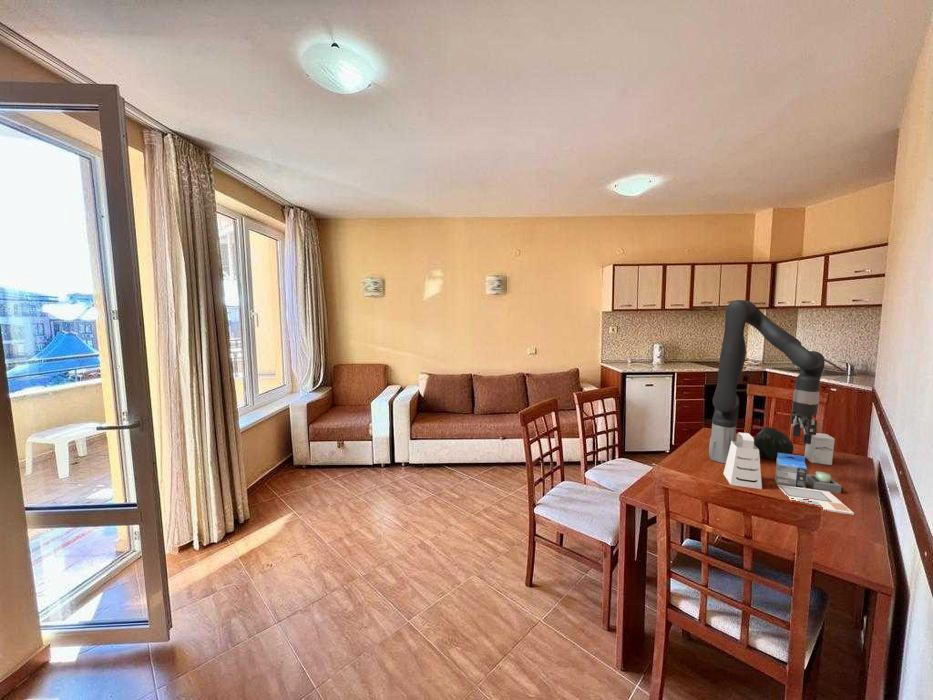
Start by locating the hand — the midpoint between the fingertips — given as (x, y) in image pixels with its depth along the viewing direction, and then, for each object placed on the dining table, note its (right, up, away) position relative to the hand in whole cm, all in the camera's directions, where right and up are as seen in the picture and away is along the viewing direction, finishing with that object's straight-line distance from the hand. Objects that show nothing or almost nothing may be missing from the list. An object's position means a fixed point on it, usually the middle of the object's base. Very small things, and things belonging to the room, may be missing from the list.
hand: (801, 439), depth 147 cm
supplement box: (+28, -16, +22) cm, 39 cm away
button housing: (+7, -19, -1) cm, 20 cm away
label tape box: (-4, -19, +1) cm, 19 cm away
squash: (+11, -15, +28) cm, 34 cm away
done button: (+7, -17, -2) cm, 19 cm away
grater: (-21, -19, +4) cm, 28 cm away
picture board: (-5, -20, -10) cm, 23 cm away
